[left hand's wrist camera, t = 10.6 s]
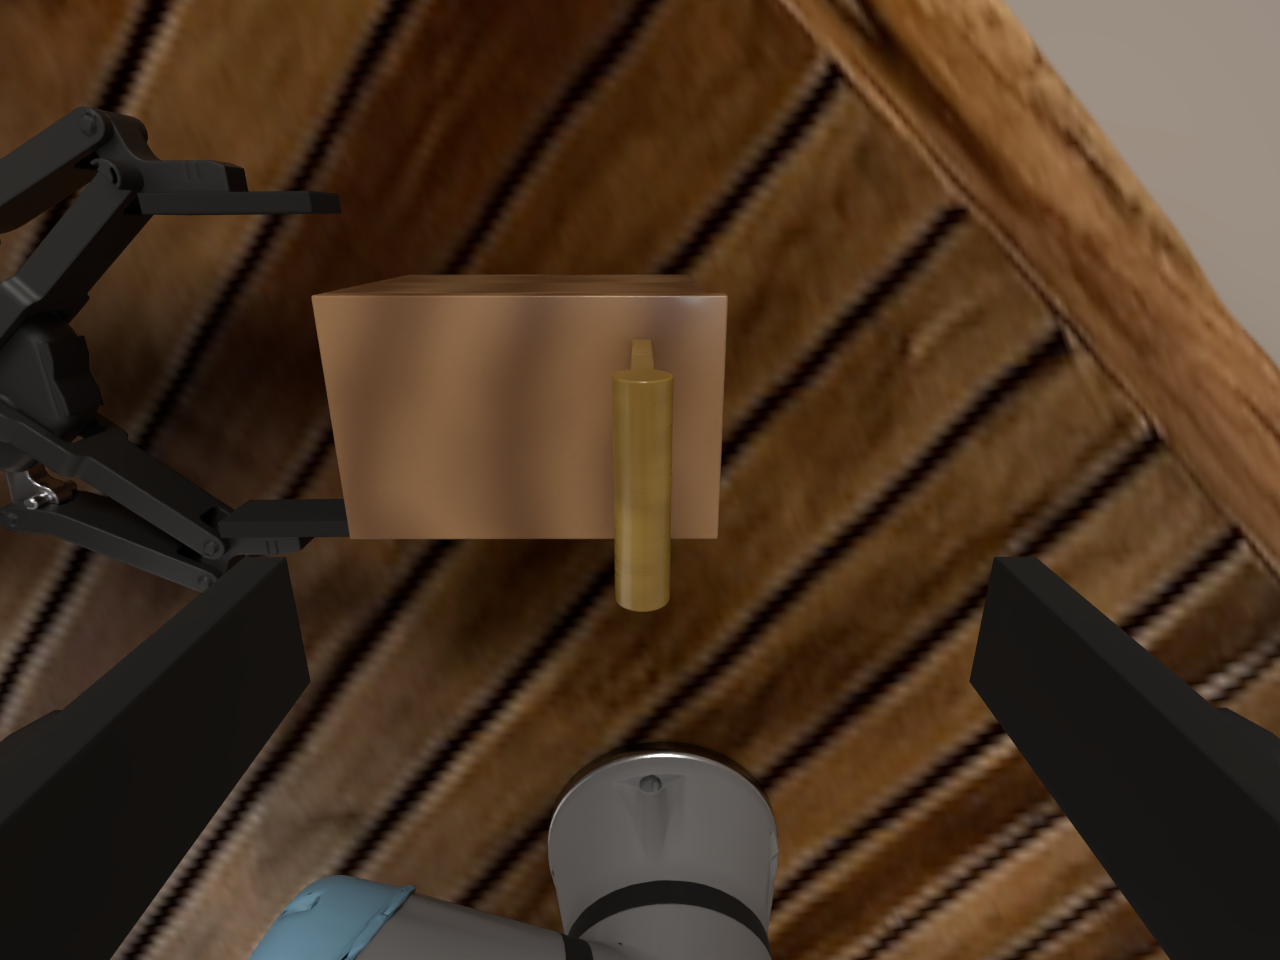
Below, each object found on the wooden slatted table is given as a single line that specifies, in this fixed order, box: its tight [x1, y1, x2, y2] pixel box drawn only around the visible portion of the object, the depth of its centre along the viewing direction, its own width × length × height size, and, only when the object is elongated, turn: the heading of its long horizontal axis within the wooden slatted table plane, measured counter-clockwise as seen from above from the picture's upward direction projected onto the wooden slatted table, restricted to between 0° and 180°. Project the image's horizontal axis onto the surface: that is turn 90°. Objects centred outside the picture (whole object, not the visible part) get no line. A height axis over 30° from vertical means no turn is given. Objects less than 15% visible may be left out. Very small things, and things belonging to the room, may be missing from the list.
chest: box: [326, 275, 706, 293], centre depth 31 cm, size 14×9×10 cm
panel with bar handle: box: [312, 293, 728, 612], centre depth 23 cm, size 15×9×9 cm, turn 90°
